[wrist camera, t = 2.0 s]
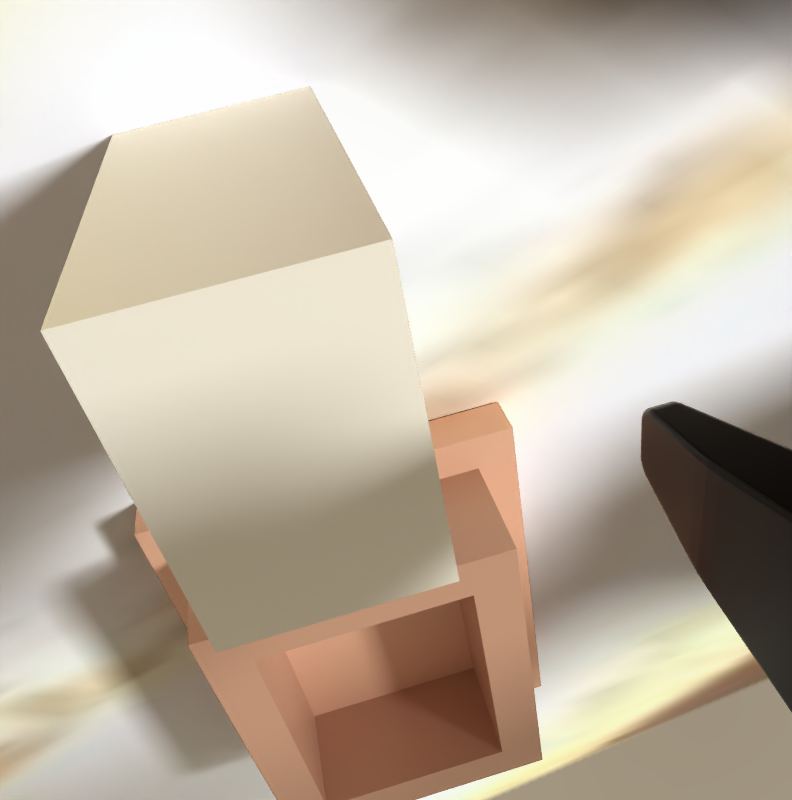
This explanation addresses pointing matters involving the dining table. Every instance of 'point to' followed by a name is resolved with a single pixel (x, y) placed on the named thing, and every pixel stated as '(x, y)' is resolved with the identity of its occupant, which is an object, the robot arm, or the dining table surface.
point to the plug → (254, 368)
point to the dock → (399, 655)
